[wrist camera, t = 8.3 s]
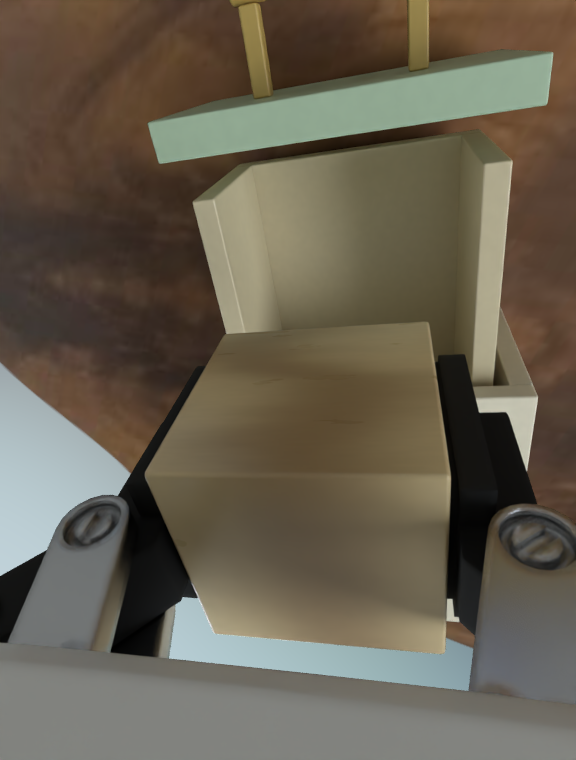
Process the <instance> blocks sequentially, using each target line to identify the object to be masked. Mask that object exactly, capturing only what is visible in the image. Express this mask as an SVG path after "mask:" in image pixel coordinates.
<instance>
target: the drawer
mask: <svg viewBox="0 0 576 760" xmlns="http://www.w3.org/2000/svg"><path fill="white" fill-rule="evenodd" d="M229 1H230V3H231V4H232V6H233V7H238V11H239V16H240V22H241V28H242V34H243V40H244V45H245V51H246V57H247V63H248V69H249V75H250V80H251V86H252V92H253V94H250V95H245V96H239V97H234V98H228V99H223V100H217V101H212V102H209V103H206V104H203V105H200V106H197V107H194V108H191V109H188V110H185V111H181V112H178V113H175V114H172V115H169V116H166V117H163V118H160V119H157V120H154V121H151V122H148V127H149V131H150V134H151V138H152V141H153V145H154V148H155V152H156V155H157V159H158V162H159V163H160V164H162V163H169V162H175V161H182V160H188V159H195V158H202V157H208V156H215V155H221V154H228V153H234V152H241V151H248V150H254V149H261V148H267V147H274V146H281V145H287V144H294V143H300V142H307V141H314V140H320V139H327V138H333V137H340V136H346V135H353V134H360V133H366V132H373V131H379V130H386V129H393V128H399V127H406V126H412V125H419V124H425V123H432V122H439V121H445V120H452V119H458V118H465V117H472V116H478V115H485V114H491V113H498V112H504V111H511V110H518V109H524V108H531V107H537V106H544V105H546V104H547V103H548V95H549V86H550V77H551V69H552V60H553V52H544V51H524V50H504V49H501V50H496V51H490V52H484V53H479V54H473V55H468V56H462V57H457V58H451V59H445V60H440V61H434V62H429V0H407V29H408V66H406V67H401V68H395V69H390V70H384V71H379V72H373V73H367V74H362V75H356V76H351V77H345V78H340V79H334V80H328V81H323V82H317V83H312V84H306V85H301V86H295V87H289V88H284V89H278V90H273V86H272V80H271V73H270V66H269V60H268V53H267V47H266V40H265V34H264V27H263V20H262V14H261V7H260V4H258V3H257V2H262V1H266V0H229ZM512 163H513V161H512V160H511V159H510V158H509V157H508V156H507V155H506V154H505V153H504V152H503V151H502V150H501V149H500V148H499V147H498V146H497V145H496V144H495V143H494V142H492V141H491V140H490V139H489V138H488V137H487V136H486V135H485V134H484V133H483V132H482V131H481V130H479V129H477V130H470V131H463V132H456V133H449V134H442V135H435V136H428V137H422V138H415V139H408V140H401V141H394V142H387V143H380V144H374V145H367V146H360V147H353V148H346V149H339V150H332V151H326V152H319V153H312V154H305V155H298V156H291V157H284V158H277V159H271V160H264V161H257V162H250V163H243V164H239V165H238V166H237V167H236V168H234V169H233V170H232V171H230V172H229V173H228V174H227V175H225V176H224V177H223V178H222V179H220V180H219V181H218V182H217V183H215V184H214V185H213V186H212V187H210V188H209V189H208V190H207V191H205V192H204V193H203V194H202V195H200V196H199V197H198V198H197V199H195V200H194V201H193V207H194V210H195V214H196V218H197V222H198V226H199V230H200V234H201V237H202V241H203V245H204V249H205V253H206V257H207V261H208V265H209V268H210V272H211V276H212V280H213V284H214V288H215V292H216V295H217V299H218V303H219V307H220V311H221V315H222V319H223V322H224V326H225V330H226V334H232V333H248V332H265V331H281V330H297V329H313V328H330V327H346V326H362V325H379V324H395V323H411V322H428V323H429V326H430V333H431V340H432V347H433V354H434V361H435V362H438V355H455V354H465V357H466V361H467V365H468V369H469V373H470V377H471V381H472V385H473V387H477V386H493V379H494V367H495V356H496V345H497V333H498V322H499V311H500V299H501V288H502V277H503V265H504V254H505V243H506V231H507V220H508V208H509V197H510V186H511V174H512Z"/></svg>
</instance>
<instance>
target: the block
mask: <svg viewBox="0 0 576 760" xmlns="http://www.w3.org/2000/svg"><path fill="white" fill-rule="evenodd" d="M145 478H146V481H147V483H148V485H149V487H150V490H151V492H152V494H153V496H154V499H155V501H156V503H157V506H158V508H159V510H160V512H161V515H162V517H163V519H164V522H165V524H166V526H167V528H168V531H169V533H170V535H171V537H172V540H173V542H174V544H175V547H176V549H177V551H178V553H179V556H180V558H181V560H182V563H183V565H184V567H185V569H186V572H187V574H188V576H189V578H190V581H191V583H192V585H193V588H194V590H195V592H196V594H197V597H198V599H199V601H200V603H201V606H202V608H203V610H204V613H205V615H206V617H207V619H208V622H209V624H210V626H211V628H212V631H213V632H214V633H215V634H223V635H235V636H245V637H256V638H267V639H278V640H289V641H301V642H312V643H323V644H334V645H345V646H356V647H367V648H379V649H389V650H400V651H411V652H423V653H434V654H444V653H445V647H446V618H447V589H448V559H449V530H450V500H451V472H450V465H449V458H448V451H447V444H446V437H445V430H444V423H443V416H442V409H441V402H440V396H439V389H438V382H437V375H436V368H435V361H434V354H433V347H432V340H431V333H430V326H429V323H428V322H411V323H395V324H379V325H362V326H346V327H330V328H313V329H297V330H281V331H265V332H248V333H232V334H225V335H224V336H223V338H222V339H221V341H220V343H219V345H218V346H217V348H216V350H215V352H214V353H213V355H212V357H211V358H210V360H209V362H208V364H207V365H206V367H205V369H204V371H203V372H202V374H201V376H200V378H199V379H198V381H197V383H196V385H195V386H194V388H193V390H192V391H191V393H190V395H189V397H188V398H187V400H186V402H185V404H184V405H183V407H182V409H181V411H180V412H179V414H178V416H177V417H176V419H175V421H174V423H173V424H172V426H171V428H170V430H169V431H168V433H167V435H166V437H165V438H164V440H163V442H162V443H161V445H160V447H159V449H158V450H157V452H156V454H155V456H154V457H153V459H152V461H151V463H150V464H149V466H148V468H147V469H146V471H145Z"/></svg>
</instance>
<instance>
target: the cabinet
mask: <svg viewBox="0 0 576 760" xmlns="http://www.w3.org/2000/svg"><path fill="white" fill-rule="evenodd" d="M473 389H474V394H475V398H476V402H477V406H478V410H479V413H484V412H506V413H507V414H508V416H509V418H510V421H511V424H512V428H513V431H514V434H515V437H516V440H517V443H518V446H519V449H520V452H521V455H522V459H523V462H524V465H525V468H526V471H527V467H528V460H529V454H530V447H531V441H532V434H533V427H534V421H535V414H536V408H537V401H538V396H537V394H536V391H535V389H534V386H533V384H532V381H531V379H530V377H529V374H528V372H527V369H526V367H525V365H524V362H523V360H522V358H521V355H520V353H519V350H518V348H517V346H516V343H515V341H514V339H513V336H512V334H511V331H510V329H509V327H508V324H507V322H506V319H505V317H504V315H503V312H502V310H501V308H500V311H499V322H498V333H497V345H496V356H495V367H494V379H493V386H477V387H473ZM446 621H455V622H459V617H454V610H453V601H452V599H447V618H446Z"/></svg>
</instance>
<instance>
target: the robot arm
mask: <svg viewBox="0 0 576 760" xmlns="http://www.w3.org/2000/svg"><path fill="white" fill-rule="evenodd" d="M205 367H206V366H198V367H197V368H196V369H195V371H194V372H193V374H192V375H191V377H190V379H189V380H188V382H187V384H186V385H185V387H184V389H183V390H182V392H181V394H180V395H179V397H178V399H177V400H176V402H175V404H174V405H173V407H172V409H171V410H170V412H169V414H168V415H167V417H166V418H165V420H164V422H163V423H162V424H161V425H160V427H159V429H158V430H157V432H156V434H155V435H154V437H153V439H152V440H151V442H150V444H149V445H148V447H147V449H146V450H145V452H144V453H143V455H142V457H141V458H140V460H139V462H138V463H137V465H136V467H135V468H134V470H133V472H132V473H131V475H130V477H129V478H128V480H127V482H126V483H125V485H124V486H123V488H122V490H121V491H120V493H119V495H118V496H114V495H101V496H98V497H94V498H90V499H88V500H87V501H84V502H83V503H80V504H79V505H77V506H76V507H75V508H73V509H72V510H70V511H69V512H68V513H67V514H66V515H65V516H64V517H63V519H62V520H61V522H60V523H59V525H58V526H57V528H56V530H55V533H54V535H53V537H52V540H51V542H50V545H49V547H48V549H47V550H46V551H44V552H43V553H41V554H39V555H37V556H35V557H34V558H32V559H30V560H28V561H27V562H25V563H23V564H21V565H19V566H17V567H16V568H14V569H12V570H10V571H9V572H7V573H5V574H3V575H2V576H0V760H576V523H575V522H574V521H572V520H571V519H570V518H569V517H568V516H566V515H564V514H562V513H560V512H558V511H556V510H554V509H552V508H548V507H545V506H541V505H537V502H536V499H535V496H534V493H533V490H532V486H531V483H530V480H529V477H528V474H527V471H526V468H525V465H524V462H523V459H522V455H521V452H520V449H519V446H518V443H517V440H516V437H515V434H514V431H513V428H512V424H511V421H510V418H509V416H508V414H507V413H506V412H484V413H479V410H478V406H477V402H476V398H475V394H474V389H473V385H472V381H471V377H470V373H469V369H468V365H467V361H466V357H465V354H455V355H438V362H435V368H436V375H437V382H438V389H439V396H440V402H441V409H442V416H443V423H444V430H445V437H446V444H447V451H448V458H449V465H450V472H451V500H450V530H449V559H448V589H447V599H452V601H453V610H454V617H459V622H461V623H462V624H463V625H464V626H465V627H466V628H467V629H468V630H470V631H471V632H472V633H473V634H474V635H475V641H474V650H473V658H472V667H471V675H470V684H469V691H462V690H454V689H444V688H436V687H426V686H418V685H409V684H399V683H391V682H390V683H389V682H381V681H372V680H363V679H354V678H345V677H336V676H326V675H318V674H309V673H300V672H290V671H281V670H272V669H262V668H252V667H243V666H233V665H224V664H215V663H205V662H195V661H186V660H177V659H169V654H170V647H171V640H172V632H173V625H174V618H175V604H177V603H178V602H180V601H181V599H182V597H190V598H198V597H197V594H196V592H195V590H194V588H193V585H192V583H191V581H190V578H189V576H188V574H187V572H186V569H185V567H184V565H183V563H182V560H181V558H180V556H179V553H178V551H177V549H176V547H175V544H174V542H173V540H172V537H171V535H170V533H169V531H168V528H167V526H166V524H165V522H164V519H163V517H162V515H161V512H160V510H159V508H158V506H157V503H156V501H155V499H154V496H153V494H152V492H151V490H150V487H149V485H148V483H147V481H146V478H145V471H146V469H147V468H148V466H149V464H150V463H151V461H152V459H153V457H154V456H155V454H156V452H157V450H158V449H159V447H160V445H161V443H162V442H163V440H164V438H165V437H166V435H167V433H168V431H169V430H170V428H171V426H172V424H173V423H174V421H175V419H176V417H177V416H178V414H179V412H180V411H181V409H182V407H183V405H184V404H185V402H186V400H187V398H188V397H189V395H190V393H191V391H192V390H193V388H194V386H195V385H196V383H197V381H198V379H199V378H200V376H201V374H202V372H203V371H204V369H205Z"/></svg>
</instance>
